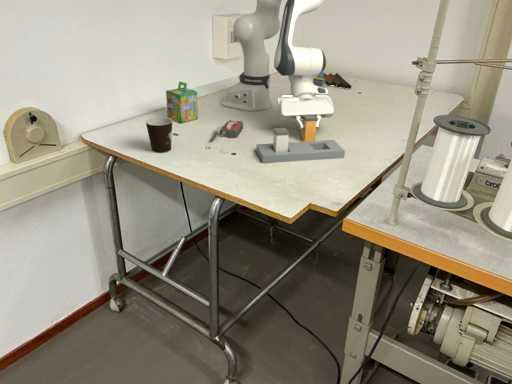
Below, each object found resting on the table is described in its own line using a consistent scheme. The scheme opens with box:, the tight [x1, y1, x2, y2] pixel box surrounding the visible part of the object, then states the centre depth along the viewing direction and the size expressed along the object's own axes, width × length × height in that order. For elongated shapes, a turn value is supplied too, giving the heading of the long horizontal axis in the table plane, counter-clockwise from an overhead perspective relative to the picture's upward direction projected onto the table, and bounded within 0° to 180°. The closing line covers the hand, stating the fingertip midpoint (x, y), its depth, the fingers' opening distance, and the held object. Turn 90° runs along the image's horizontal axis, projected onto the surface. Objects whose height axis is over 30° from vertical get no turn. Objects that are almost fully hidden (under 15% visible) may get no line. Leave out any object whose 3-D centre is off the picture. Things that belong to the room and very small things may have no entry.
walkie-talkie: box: [209, 119, 244, 143], centre depth 153 cm, size 9×4×20 cm
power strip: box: [255, 139, 346, 164], centre depth 139 cm, size 28×10×2 cm, turn 102°
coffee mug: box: [145, 116, 173, 154], centre depth 139 cm, size 12×9×10 cm
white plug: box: [272, 127, 290, 153], centre depth 136 cm, size 4×4×9 cm
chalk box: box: [165, 81, 199, 124], centre depth 165 cm, size 9×9×15 cm
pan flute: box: [323, 72, 352, 89], centre depth 228 cm, size 25×3×25 cm
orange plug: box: [300, 115, 317, 142], centre depth 149 cm, size 4×4×9 cm
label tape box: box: [313, 71, 326, 88], centre depth 203 cm, size 9×4×12 cm, turn 58°
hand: (309, 128), depth 148 cm, fingers closed on orange plug, 4 cm apart
